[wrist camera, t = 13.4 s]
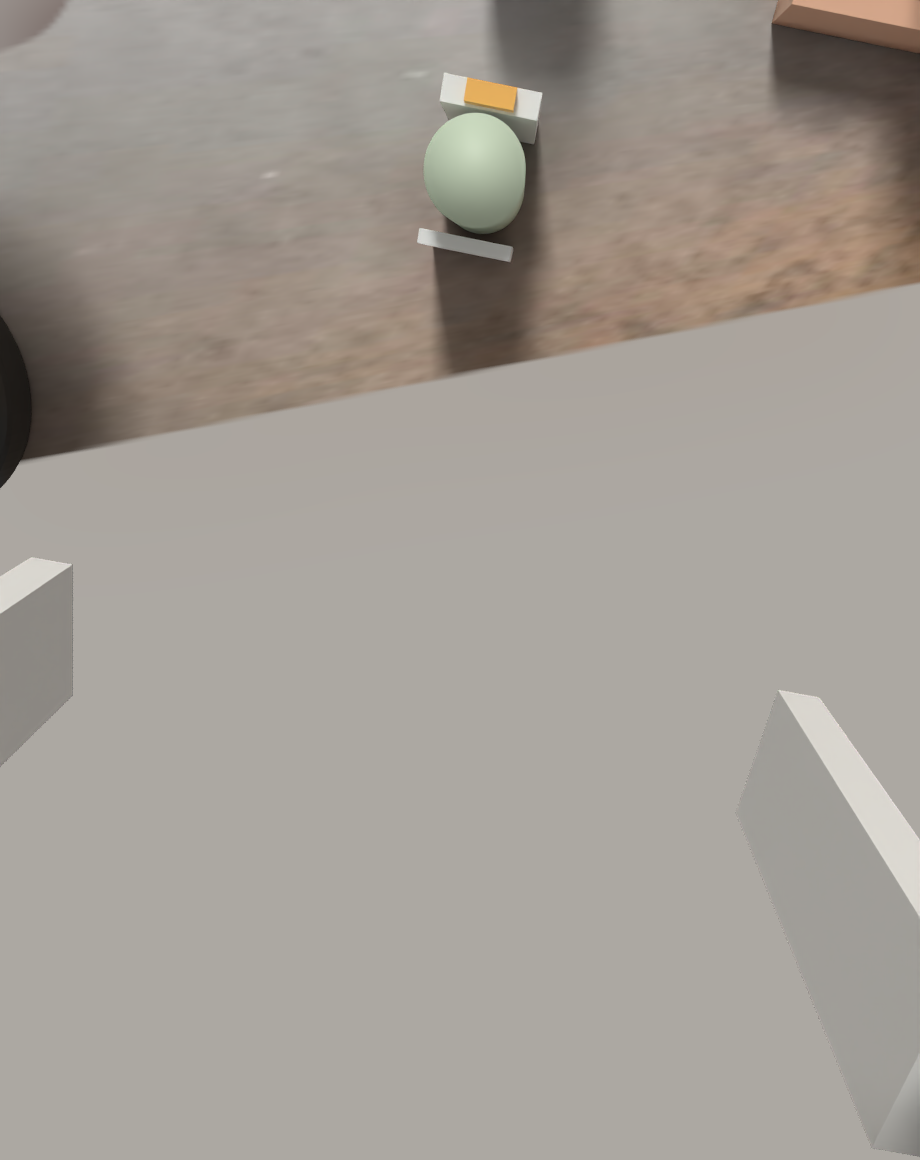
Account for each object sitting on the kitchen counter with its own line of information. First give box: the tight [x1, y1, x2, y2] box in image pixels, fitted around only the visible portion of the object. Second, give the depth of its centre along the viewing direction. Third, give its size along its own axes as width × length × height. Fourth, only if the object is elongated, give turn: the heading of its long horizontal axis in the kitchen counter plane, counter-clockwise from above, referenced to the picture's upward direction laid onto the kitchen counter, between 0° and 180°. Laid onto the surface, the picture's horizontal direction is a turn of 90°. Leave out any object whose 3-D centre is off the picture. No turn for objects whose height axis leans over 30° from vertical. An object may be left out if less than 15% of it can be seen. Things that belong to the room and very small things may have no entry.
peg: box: [424, 113, 526, 234], centre depth 37 cm, size 4×4×9 cm
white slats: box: [417, 73, 542, 262], centre depth 35 cm, size 4×20×8 cm, turn 169°
